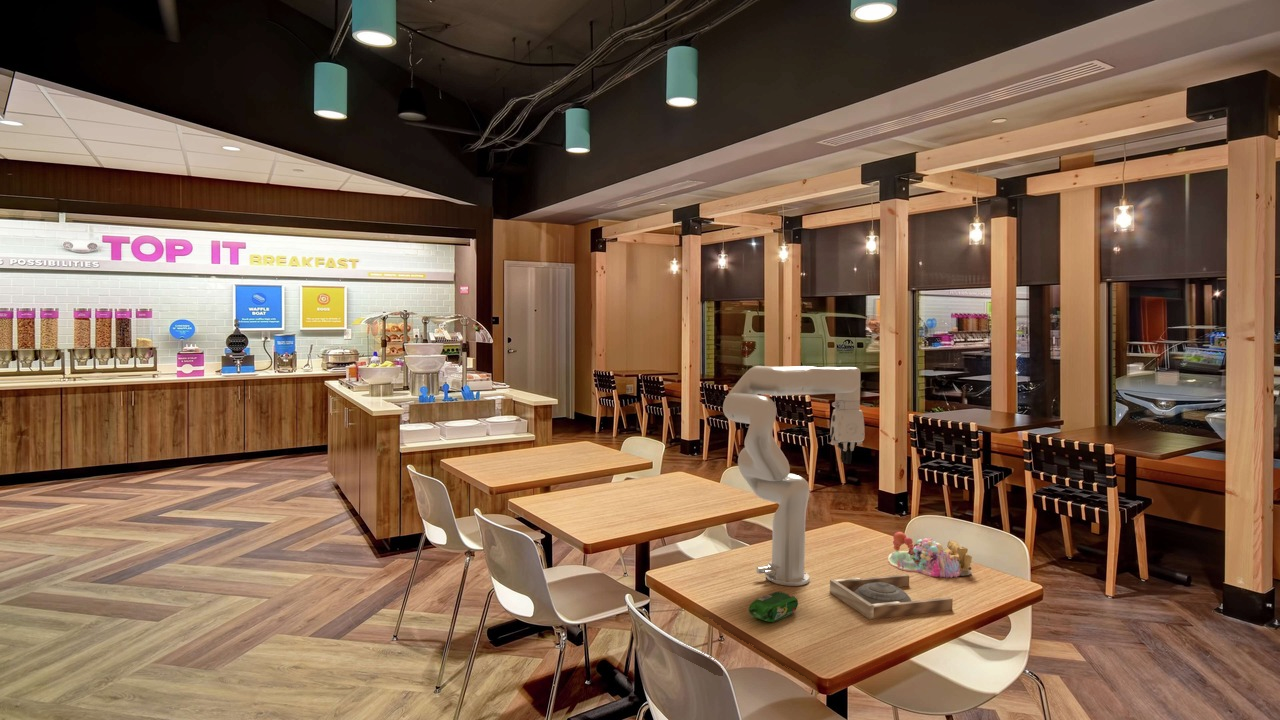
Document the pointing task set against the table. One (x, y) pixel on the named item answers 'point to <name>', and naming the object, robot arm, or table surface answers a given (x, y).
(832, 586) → the bay
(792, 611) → the snack package
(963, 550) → the candy landscape model
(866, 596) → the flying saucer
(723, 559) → the table surface
